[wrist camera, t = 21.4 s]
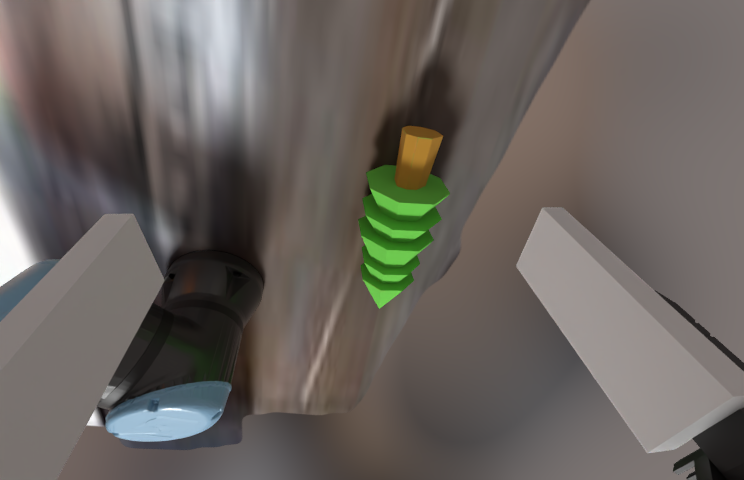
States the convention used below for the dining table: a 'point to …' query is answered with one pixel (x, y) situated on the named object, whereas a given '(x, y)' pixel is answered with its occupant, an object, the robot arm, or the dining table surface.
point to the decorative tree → (400, 214)
